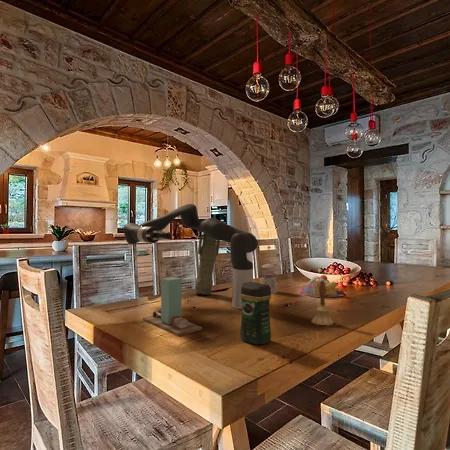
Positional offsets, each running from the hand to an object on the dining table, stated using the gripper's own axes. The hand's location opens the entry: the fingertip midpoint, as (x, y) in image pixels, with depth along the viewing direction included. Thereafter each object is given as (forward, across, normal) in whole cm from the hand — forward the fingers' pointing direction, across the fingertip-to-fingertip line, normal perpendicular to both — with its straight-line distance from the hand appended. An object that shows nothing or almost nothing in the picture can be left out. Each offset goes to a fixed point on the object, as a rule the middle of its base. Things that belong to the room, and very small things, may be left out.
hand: (169, 235), depth 137 cm
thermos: (-15, -31, -31) cm, 47 cm away
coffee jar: (+47, -2, -32) cm, 57 cm away
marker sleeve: (+16, +9, -31) cm, 36 cm away
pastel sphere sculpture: (+23, -82, -33) cm, 91 cm away
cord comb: (+16, +10, -32) cm, 37 cm away
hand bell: (+52, -35, -32) cm, 70 cm away
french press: (+3, -62, -32) cm, 70 cm away
